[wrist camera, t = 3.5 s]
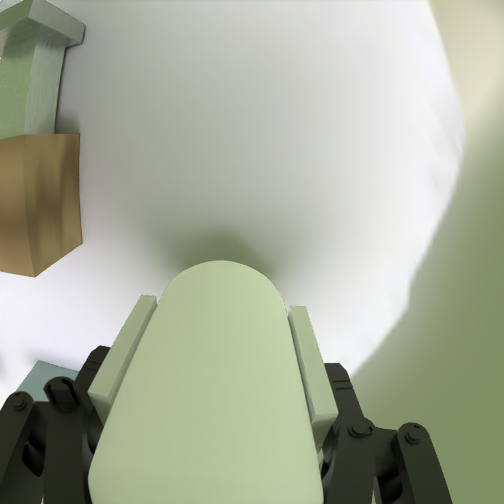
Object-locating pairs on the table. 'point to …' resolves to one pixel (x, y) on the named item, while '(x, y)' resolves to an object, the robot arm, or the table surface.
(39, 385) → the end plate
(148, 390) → the can
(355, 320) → the table surface
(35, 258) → the tan wooden block
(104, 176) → the table surface
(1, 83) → the shaft
